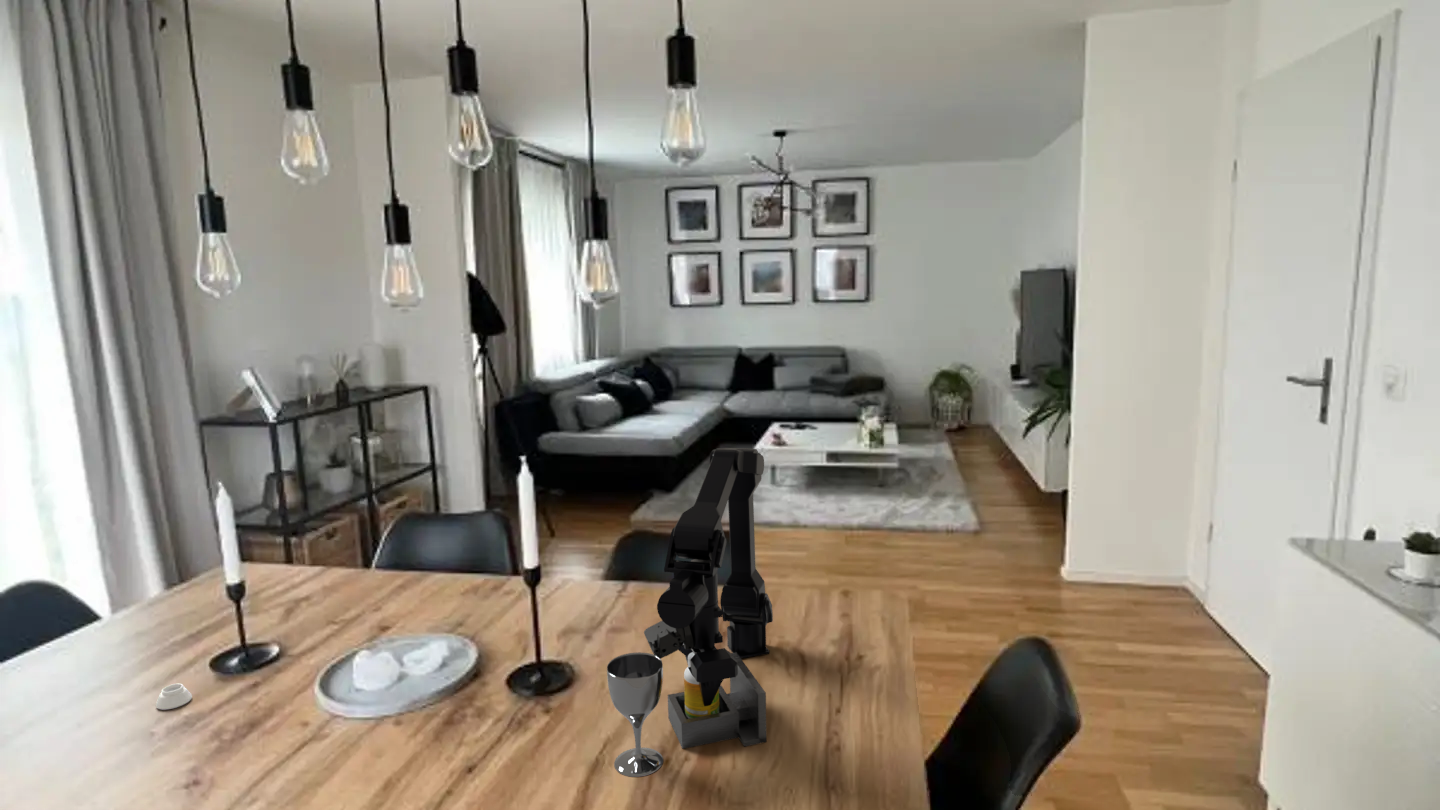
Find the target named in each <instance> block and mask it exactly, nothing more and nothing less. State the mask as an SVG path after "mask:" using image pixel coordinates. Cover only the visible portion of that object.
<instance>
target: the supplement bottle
mask: <svg viewBox="0 0 1440 810" xmlns="http://www.w3.org/2000/svg"><path fill="white" fill-rule="evenodd" d="M694 655H695V654H694V653H693V652H692V653H690V654H689V655H688V664H687V667H686V668H685V669H684V673H683V686H684V687H683V690H684V691H683V692H685V714H686V717H687V718H688V719H690V718H696V717H701V716H706V715H712V714H717V713H719V689H718V691H717V693H716V695H715V698H714V700H713V702H712V704H711V705H709V706H704V704H703V700H702V695H701V690H700V685H699V682H697V681H696V679H695V678H694V677H693V676H692V674H691V672H690V670H689V669H688V667H691V658H692V657H693V656H694Z"/></svg>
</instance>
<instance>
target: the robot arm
mask: <svg viewBox="0 0 1440 810" xmlns="http://www.w3.org/2000/svg"><path fill="white" fill-rule="evenodd" d="M764 470H765V458H764V456H763V455H762V454H761V453H760V452H758V449H757V448H740V447H739V448H738V447H723V448H716V449H712V450H711V452H710V455H709V466H708V468H707V470H706V472H705V473H706V474H705V476H704V479H703V481H702V483H701V487H700V489H699V490H698V494H697V497H696V498H695V501H694V504H693V506H692V507H690V508H688V509H687V510H685V511H683V512H682V513H681V514H680V517H679V518H678V520H677V522H676V524H675V526H674V527H673V528H672V529H671V533H670V536H669V537H670V538H669V540H668V541H669V543H668V549H667V552H666V558H665V563H664V568H663V571H664V573H669V574H673V578H672V579H670V581H669V587H667V588H666V590H665V591H663V593H662V594H661V595H660V597H659V599H658V601H657V606H656V609H657V614H658V616H659V618H660V621H659V622H658V621H657V622H656V623H654V624H652V625H651V626H648V627H647V628H645V630H644V631H643V633H644V636H645V639H646V641H647V643H648V644H649V648H650V650H651V652H652V654H653V655H656V656H657V657H659V658H660V659H661V660H662V659H663V658H665V657H667V656H670V655H671V654H673V653H675V652H677V651H679V652H680V653H681V654H682V655H684V656H685V660H686V663H687V665H688V655H689V654H690V653H692V652H693V653H694V654H695V655H694V656H693V657H692V658H691V667H688V666H687V667H688V669H689V670H690V672H691V674H692V676H693V677H694V678H695V679H696V681H697V682H699V685H700V690H701V695H702V700H703V704H704V706H709V705H711V704H712V702H713V700H714V698H715V695H716V693H717V691H718V689H719V687H720V686H722V683H723V681H724V680H725V679H730V678H733V677H736V676H737V675H738V663H737V661H736V660H735V659H734V657H733V656H732V654H731V653H735V652H736V653H737V654H738V655H739V657H740V658H741V659H746V658H750V657H752V658H753V657H757V656H764V655H769V654H770V650H769V648H768V647H767V629H766V627H767V624H769V623H773V622H774V620H773V619H774V618H773V616H774V614H773V603H772V602H771V600H770V597H769V594H768V593H767V592H766V583H765V581H764V578H763V577H762V576H761V574H760V573H759V572H758V570H757V568H756V547H755V546H756V541H755V539H756V538H755V537H756V536H755V511H754V509H755V508H754V493H755V491H756V489H757V488H758V486H759V485H760V483H761V481H762V476H763V474H764V472H765V471H764ZM727 505H728V528H729V529H728V531H729V556H730V558H729V560H730V574H729V577H728V578H727V580H726V581H725V583H724V584H723V586H722V589H721V594H720V603H719V594H718V592H719V590H718V589H719V588H718V586H719V585H718V570H719V569H720V568H722V565H723V560H724V556H725V552H726V551H725V550H726V546H727V538H726V536H725V532H724V529H723V524H722V519H723V515H724V513H725V510H726V507H727ZM677 558H679V559H688V560H678V559H677ZM719 604H720V606H719ZM719 618H722V620H723V621H722V622H729V626H728V625H727V627H726V630H727V632H726V634H727V639H726V640H727V641H726V643H727V647H728V649H729V650H728V649H726V648H723V647H722V648H717V647H716V646H715V645H716V644H721V643H723V642H724V639H723V635H722V633H721V632H720V629H719V627H720V625H719V624H720V623H719V620H720V619H719Z"/></svg>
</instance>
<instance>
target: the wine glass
mask: <svg viewBox="0 0 1440 810" xmlns="http://www.w3.org/2000/svg"><path fill="white" fill-rule="evenodd" d="M663 664H664V663H663V660H662V658H661V659H660V658H659V657H657V656H656V655H654V654H653V653H649V652H629V653H624V654H621V655H618V656H616V657H614V658H613V659H611V660H610V661H609V662H608V663H607V665H606V676H607V678H606V679H607V687H608V691H609V696H610V700H611V702H612V704H613V706H614V708H615V709H616V711H617V712H619V713H620V714H621V715H622V716H623V718H626V719H627V720H628V721H629V723H630V725H631V726H632V729H633V736H634V743H635V747H634V748H629V749H627V750H625V751H623V752H621V753H620V754H618V755H617V757H616V758H615V760H614V763H613V764H614V769H615V770H616V771H617V772H618V773H619V774H621V775H622V776H625V777H631V778H639V777H645V776H649V775H651V774H654V773H655V772H657V771H658V770H659V769H661V767H662V766H663V764H664V757H663V754H661V753H660V752H659V751H658V750H656V749H654V748H651V747H642V745H641V743H642V742H641V740H642V729H643V728H642V727H643V725H644V722H645V720H646V719H647V718H648V716H650V714H651V713H653V711H654V710H655V708H656V707H657V705H659V701H660V699H661V695H662V691H663V681H664V667H663V666H664V665H663Z"/></svg>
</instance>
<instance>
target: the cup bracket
mask: <svg viewBox="0 0 1440 810" xmlns="http://www.w3.org/2000/svg"><path fill="white" fill-rule="evenodd" d="M730 653H731V654H732V656H733V657H734V659H735V660H736V661H737V663H738V675H737V676H736V677H733V678H729V685H730V686H729V690H730V691H729V693H727V692H726V691H725V689H724V687H723V686H722V685H720V687H719V713H717V714H712V715H706V716H701V717H696V718H690V719H688V718H687V717H686V714H685V692H684V691H682V692H675V693H670V694H667V712H668V716H667V717H668V721H669V722H670V724H671V727H672V729H673V732H674V733H675V735H676V738H677V739H678V743H679V744H680V747H681V748H682V750H683V749H689V748H694V747H699V746H702V745H709V744H713V743H717V742H723V741H728V740H734V739H739V741H740V742H741V744H742V746H743V747H749V746H754V745H758V744H759V745H760V744H764V743H767V693H766V691H765V689H764V688H763V686H762V685H761V684H760V682H759V681H758V680H757V679H756V678H755V676H754V674H753V673H752V671H750V669H749V667H748V666H747V665H746V663H745V662H744V660H743V658H740V657H739V655H738V654H737V653H736V652H735V653H733V652H730Z"/></svg>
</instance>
